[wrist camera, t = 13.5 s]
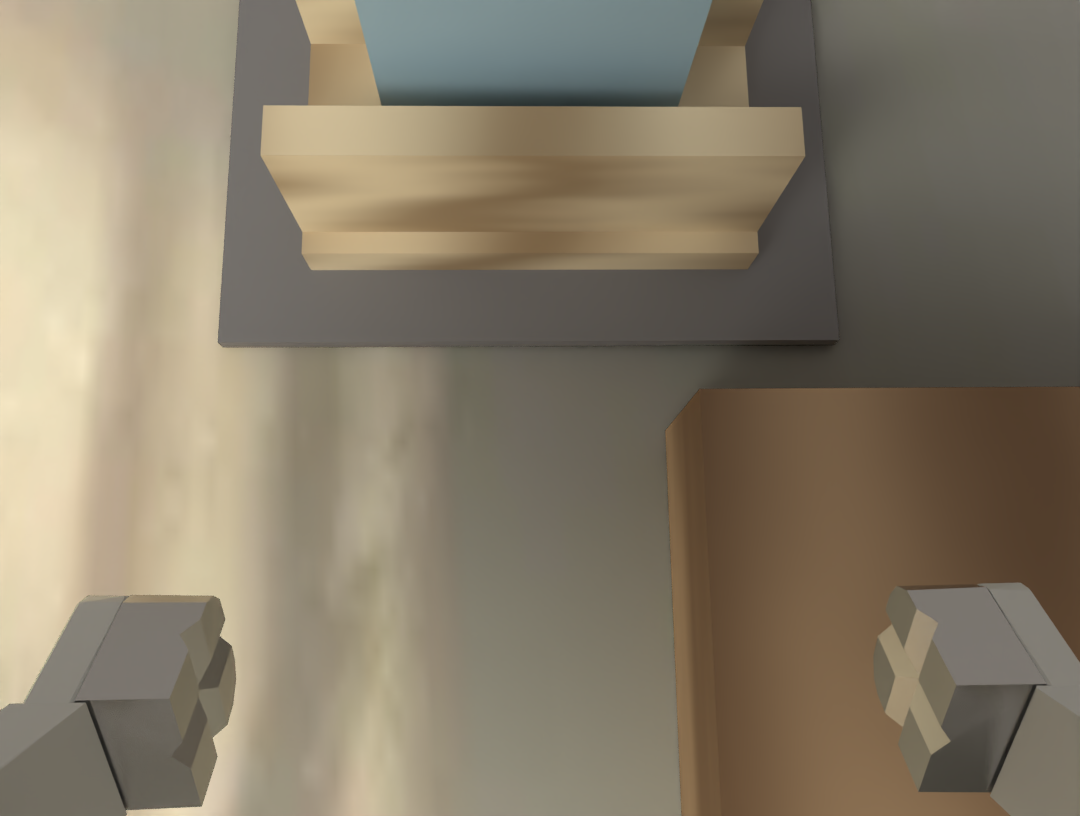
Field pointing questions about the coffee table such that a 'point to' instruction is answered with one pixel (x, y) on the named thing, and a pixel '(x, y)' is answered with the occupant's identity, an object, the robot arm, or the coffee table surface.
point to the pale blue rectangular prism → (532, 51)
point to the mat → (520, 295)
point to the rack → (529, 167)
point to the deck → (846, 573)
